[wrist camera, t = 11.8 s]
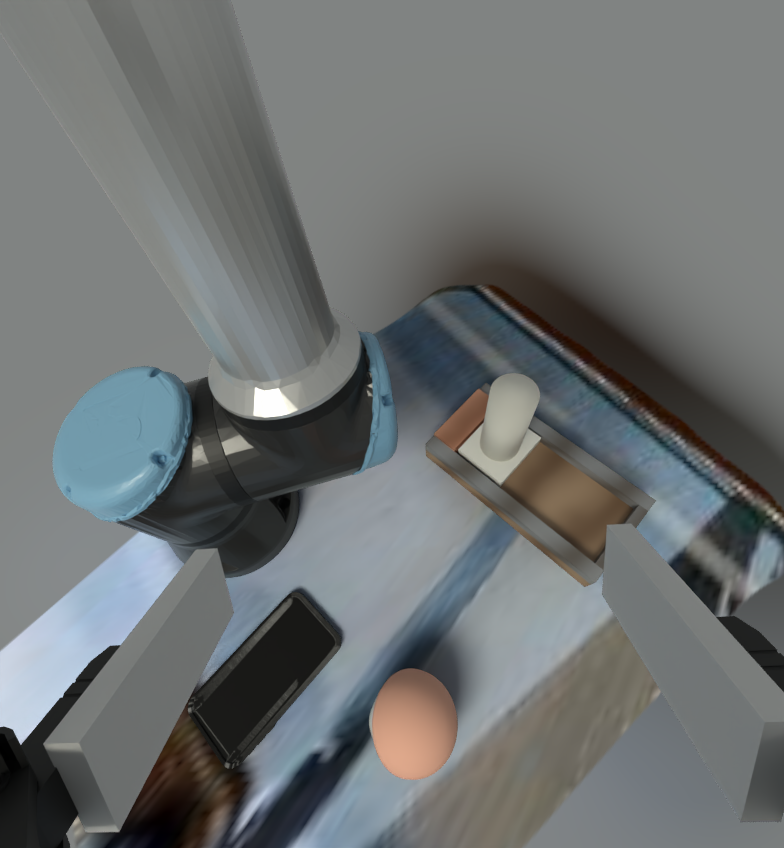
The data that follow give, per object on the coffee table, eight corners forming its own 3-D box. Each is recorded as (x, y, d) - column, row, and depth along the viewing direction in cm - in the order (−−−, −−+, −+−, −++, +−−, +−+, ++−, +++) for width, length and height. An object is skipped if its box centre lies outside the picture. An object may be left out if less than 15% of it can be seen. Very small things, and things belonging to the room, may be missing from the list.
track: (426, 455, 53) (425, 442, 50) (483, 397, 56) (486, 380, 53) (584, 586, 45) (597, 581, 41) (641, 509, 48) (658, 499, 44)
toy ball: (374, 666, 44) (362, 671, 36) (452, 665, 43) (455, 670, 36) (374, 766, 40) (360, 792, 33) (459, 766, 39) (463, 793, 32)
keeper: (457, 454, 50) (463, 400, 39) (496, 413, 52) (512, 351, 41) (499, 487, 48) (517, 440, 37) (538, 443, 50) (566, 386, 39)
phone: (183, 706, 43) (295, 587, 47) (189, 704, 44) (298, 588, 48) (230, 776, 40) (345, 642, 44) (235, 772, 41) (347, 642, 45)
